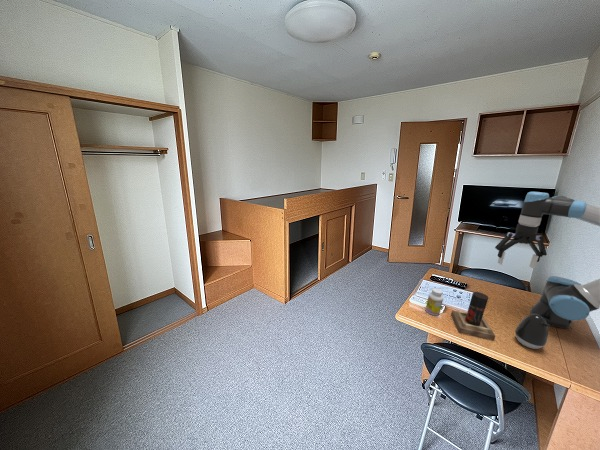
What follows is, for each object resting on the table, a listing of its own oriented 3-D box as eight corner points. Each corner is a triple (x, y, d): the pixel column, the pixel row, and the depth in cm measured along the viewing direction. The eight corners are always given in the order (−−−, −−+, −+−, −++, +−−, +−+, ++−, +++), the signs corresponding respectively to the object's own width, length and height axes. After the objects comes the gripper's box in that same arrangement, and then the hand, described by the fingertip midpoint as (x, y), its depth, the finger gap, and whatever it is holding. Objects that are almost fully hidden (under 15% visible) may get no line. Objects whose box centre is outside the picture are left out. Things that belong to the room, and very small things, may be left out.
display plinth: (482, 321, 123) (484, 314, 121) (494, 340, 110) (496, 333, 109) (450, 314, 126) (452, 308, 125) (459, 332, 114) (461, 325, 112)
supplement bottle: (423, 307, 131) (427, 286, 128) (435, 308, 131) (440, 287, 127) (428, 315, 125) (433, 293, 121) (441, 316, 125) (447, 294, 121)
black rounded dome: (525, 352, 104) (537, 322, 100) (507, 334, 114) (517, 307, 109) (550, 354, 104) (563, 324, 99) (529, 336, 113) (540, 308, 109)
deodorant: (482, 327, 114) (491, 299, 110) (468, 325, 115) (476, 297, 111) (476, 319, 120) (484, 292, 115) (462, 317, 121) (470, 291, 116)
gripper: (554, 225, 116) (540, 265, 122) (494, 220, 122) (483, 258, 128) (566, 229, 109) (551, 272, 115) (501, 223, 115) (490, 264, 121)
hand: (515, 265), depth 121 cm, fingers open, 13 cm apart
